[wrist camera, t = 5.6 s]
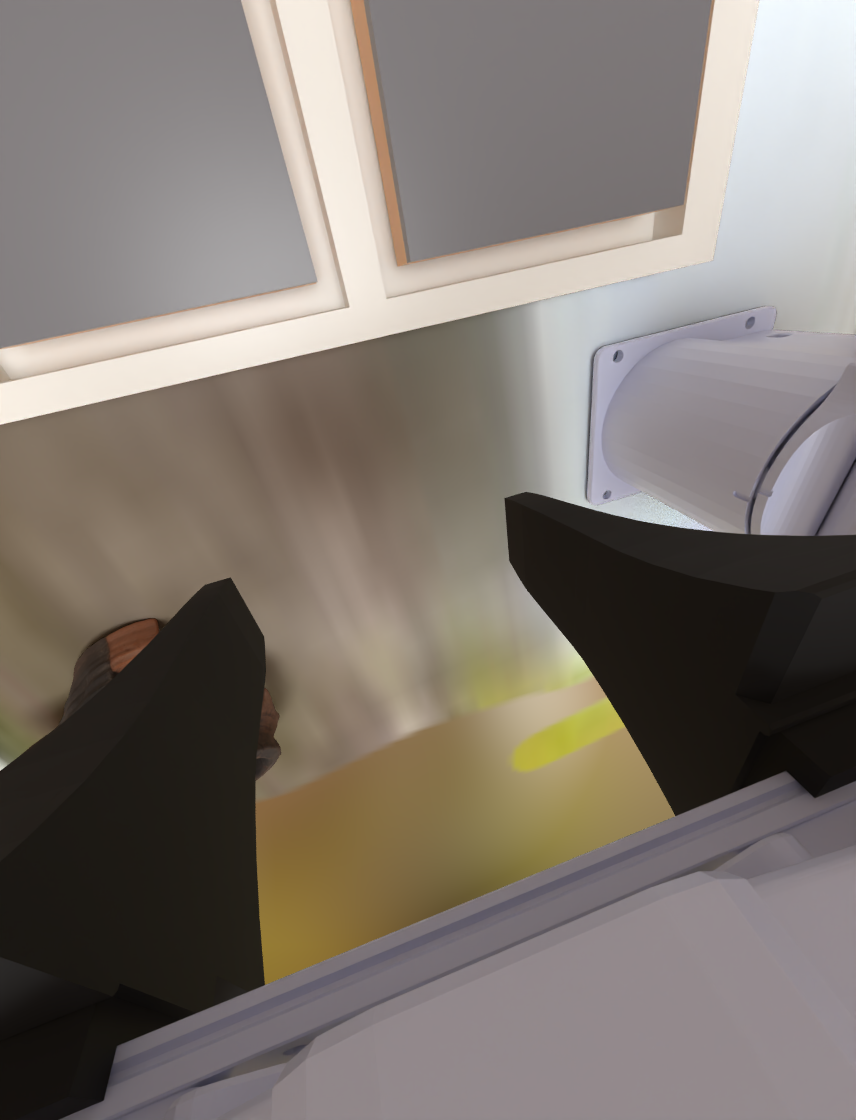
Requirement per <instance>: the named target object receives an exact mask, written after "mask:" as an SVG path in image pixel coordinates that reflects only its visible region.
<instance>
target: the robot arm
mask: <svg viewBox="0 0 856 1120" xmlns="http://www.w3.org/2000/svg"><path fill="white" fill-rule="evenodd" d="M776 314H777V311H776V308H775V307H774V306H763V307H759V308H755V309H751V310H747V311H743V312H739V313H735V314H731V315H727V316H723V317H719V318H715V319H711V320H707V321H703V322H699V323H695V324H691V325H687V326H683V327H679V328H675V329H671V330H667V331H663V332H659V333H655V334H651V335H647V336H643V337H639V338H635V339H631V340H627V341H623V342H619V343H615V344H611V345H607V346H604V347H602V348H600V349H599V350H598V351H597V353H596V355H595V358H594V368H593V388H592V408H591V428H590V448H589V468H588V488H587V500H588V501H589V502H590V503H591V504H593V505H599V504H603V503H606V502H609V501H613V500H616V499H619V498H623V497H626V496H629V495H633V494H636V493H639V492H644V493H646V494H648V495H649V496H651V497H653V498H655V499H657V500H658V501H660V502H662V503H664V504H666V505H668V506H669V507H671V508H673V509H675V510H677V511H678V512H680V513H682V514H684V515H686V516H688V517H689V518H691V519H693V520H695V521H697V522H698V523H700V524H702V525H704V526H706V527H707V528H709V529H711V530H713V531H703V530H694V529H686V528H679V527H672V526H666V525H659V524H653V523H648V522H642V521H637V520H633V519H628V518H624V517H620V516H615V515H611V514H607V513H603V512H599V511H596V510H592V509H588V508H585V507H581V506H578V505H574V504H571V503H567V502H564V501H560V500H557V499H554V498H550V497H546V496H543V495H539V494H534V493H529V492H524V493H521V494H517V495H514V496H510V497H507V498H505V510H506V523H507V536H508V549H509V561H510V563H511V565H512V566H513V568H514V570H515V571H516V573H517V575H518V577H519V578H520V580H521V581H522V583H523V585H524V586H525V588H526V589H527V591H528V592H529V593H530V594H531V596H532V597H533V598H534V599H535V601H536V602H537V603H538V604H539V606H540V607H541V608H542V609H543V610H544V612H545V613H546V614H547V615H548V616H549V618H550V619H551V620H552V621H553V623H554V624H555V625H556V626H557V627H558V629H559V630H560V631H561V632H562V633H563V635H564V636H565V637H566V638H567V639H568V641H569V642H570V643H571V644H572V646H573V647H574V648H575V650H576V651H577V652H578V654H579V655H580V656H581V658H582V659H583V660H584V662H585V663H586V665H587V666H588V668H589V669H590V671H591V672H592V674H593V676H594V677H595V679H596V680H597V681H598V683H599V685H600V686H601V688H602V689H603V691H604V692H605V694H606V696H607V697H608V699H609V701H610V702H611V704H612V705H613V707H614V709H615V710H616V712H617V713H618V715H619V717H620V718H621V720H622V722H623V723H624V725H625V727H626V728H627V730H628V732H629V733H630V735H631V737H632V739H633V740H634V742H635V744H636V745H637V747H638V749H639V751H640V752H641V754H642V756H643V757H644V759H645V761H646V762H647V764H648V766H649V768H650V770H651V772H652V773H653V775H654V777H655V779H656V781H657V783H658V784H659V786H660V788H661V790H662V792H663V793H664V795H665V797H666V799H667V801H668V803H669V805H670V806H671V808H672V810H673V812H674V814H675V817H673V818H670V819H668V820H665V821H663V822H660V823H658V824H656V825H653V826H651V827H648V828H646V829H643V830H641V831H639V832H636V833H634V834H631V835H629V836H626V837H624V838H622V839H619V840H617V841H614V842H612V843H609V844H607V845H605V846H602V847H600V848H597V849H595V850H592V851H590V852H588V853H585V854H583V855H580V856H578V857H575V858H573V859H571V860H568V861H566V862H563V863H561V864H558V865H556V866H553V867H551V868H549V869H546V870H544V871H541V872H539V873H536V874H534V875H532V876H529V877H527V878H524V879H522V880H519V881H517V882H515V883H512V884H510V885H507V886H505V887H503V888H500V889H498V890H495V891H493V892H490V893H488V894H485V895H483V896H480V897H478V898H476V899H473V900H471V901H469V902H466V903H463V904H461V905H459V906H456V907H454V908H451V909H449V910H446V911H445V912H442V913H439V914H437V915H434V916H432V917H429V918H427V919H425V920H422V921H420V922H417V923H415V924H413V925H410V926H408V927H405V928H403V929H401V930H398V931H395V932H393V933H391V934H388V935H386V936H383V937H381V938H378V939H376V940H373V941H371V942H369V943H366V944H364V945H361V946H359V947H357V948H354V949H352V950H350V951H347V952H344V953H342V954H339V955H337V956H335V957H332V958H330V959H327V960H325V961H323V962H320V963H318V964H315V965H313V966H311V967H308V968H305V969H303V970H301V971H298V972H296V973H293V974H291V975H288V976H286V977H284V978H281V979H279V980H276V981H274V982H271V983H269V984H267V985H265V981H264V970H263V956H262V946H261V945H262V944H261V931H260V920H259V904H258V903H259V900H258V881H257V862H256V824H255V823H256V821H255V772H256V757H257V747H258V739H259V730H260V721H261V712H262V703H263V694H264V685H265V674H266V663H265V642H264V636H263V634H262V632H261V630H260V629H259V627H258V625H257V623H256V622H255V620H254V618H253V616H252V614H251V613H250V611H249V609H248V607H247V606H246V604H245V602H244V600H243V599H242V597H241V595H240V593H239V591H238V590H237V588H236V586H235V584H234V583H233V581H232V579H231V578H227V579H224V580H220V581H217V582H213V583H210V584H207V585H205V586H203V587H202V588H201V589H200V590H199V591H198V592H197V593H196V594H195V595H194V596H193V597H192V598H191V599H190V600H189V601H188V602H187V603H186V604H185V605H184V606H183V607H182V608H181V609H180V610H179V611H178V613H177V614H176V615H175V616H174V617H173V618H172V619H171V620H170V621H169V622H168V623H167V624H166V625H165V627H164V628H163V629H162V630H161V631H160V632H159V633H158V634H157V635H156V636H155V637H154V638H153V639H152V640H151V641H150V643H149V644H148V645H147V646H146V647H145V648H144V649H143V650H142V651H141V652H140V653H139V654H138V655H137V656H136V657H134V658H133V659H132V660H131V661H130V662H129V663H128V664H127V665H126V666H125V667H124V668H123V669H122V670H121V671H120V672H119V673H118V674H117V675H116V676H115V677H114V678H113V679H112V680H111V681H110V682H109V683H108V684H107V685H106V686H105V687H104V688H103V689H101V690H100V691H99V692H98V693H97V694H96V695H95V696H94V697H93V698H91V699H90V700H89V701H88V702H87V703H86V704H84V705H83V706H82V707H81V708H80V709H79V710H77V711H76V712H75V713H74V714H73V715H71V716H70V717H69V718H68V719H67V720H66V721H64V722H63V723H62V724H61V725H59V726H58V727H57V728H56V729H54V730H53V731H52V732H51V733H49V734H48V735H47V736H45V737H44V738H43V739H41V740H40V741H39V742H37V743H36V744H35V745H34V746H32V747H31V748H30V749H28V750H27V751H26V752H24V753H23V754H22V755H20V756H19V757H18V758H17V759H15V760H14V761H13V762H11V763H10V764H9V765H7V766H6V767H5V768H3V769H2V770H1V771H0V1120H856V335H854V334H836V333H819V332H802V331H784V330H773V327H774V323H775V319H776ZM747 320H748V322H747V324H746V321H747ZM745 324H746V326H745ZM616 351H618V356H617V358H616V360H615V361H613V356H614V354H615V352H616ZM606 491H607V493H606V494H605V495H604V496H603V494H604V493H605V492H606ZM714 531H715V532H714Z"/></svg>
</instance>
